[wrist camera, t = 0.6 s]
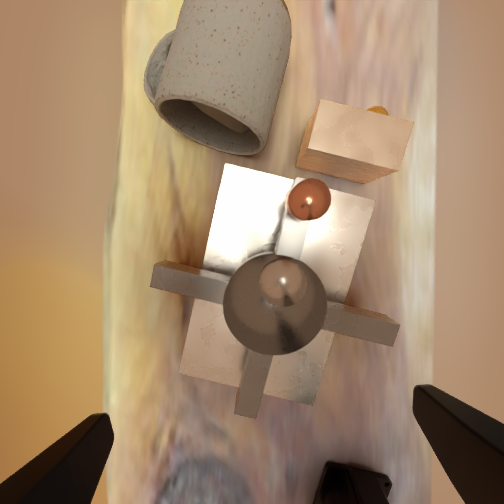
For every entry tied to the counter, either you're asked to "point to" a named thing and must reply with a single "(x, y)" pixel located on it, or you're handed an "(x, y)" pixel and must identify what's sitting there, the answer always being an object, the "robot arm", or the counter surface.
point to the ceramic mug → (222, 72)
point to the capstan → (276, 297)
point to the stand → (315, 246)
